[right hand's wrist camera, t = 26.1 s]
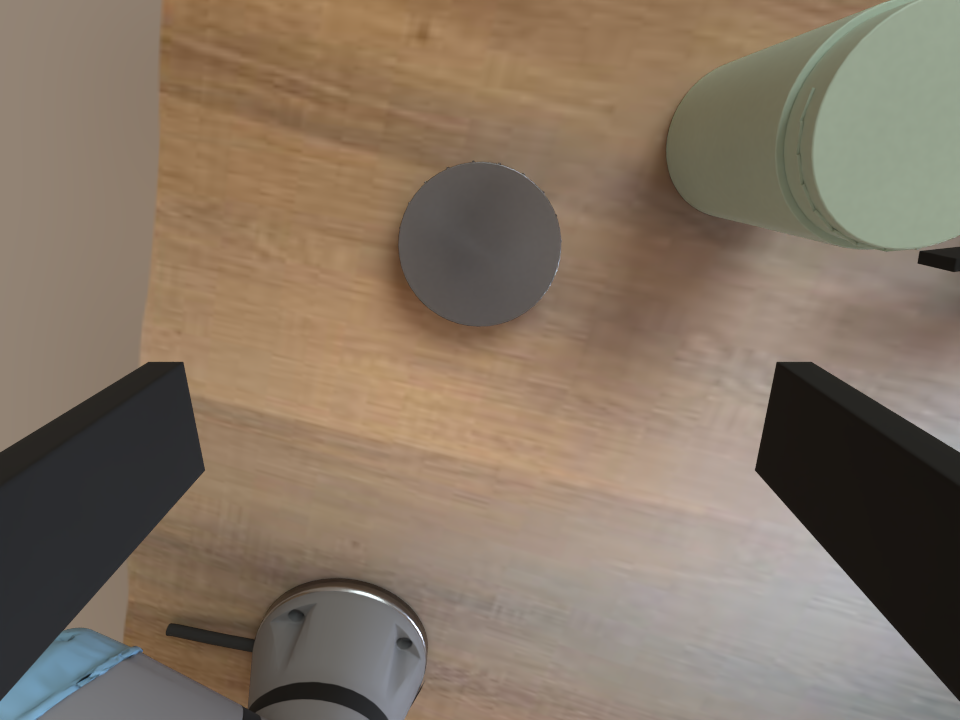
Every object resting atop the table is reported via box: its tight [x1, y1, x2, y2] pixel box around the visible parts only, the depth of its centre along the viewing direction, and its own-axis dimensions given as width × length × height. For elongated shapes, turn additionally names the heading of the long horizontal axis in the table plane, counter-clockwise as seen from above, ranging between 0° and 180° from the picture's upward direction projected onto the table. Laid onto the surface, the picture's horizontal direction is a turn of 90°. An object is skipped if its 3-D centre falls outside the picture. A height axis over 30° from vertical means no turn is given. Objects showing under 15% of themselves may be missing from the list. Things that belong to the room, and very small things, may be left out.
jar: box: [666, 0, 960, 252], centre depth 28 cm, size 10×10×16 cm
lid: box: [398, 161, 561, 326], centre depth 36 cm, size 11×11×2 cm
